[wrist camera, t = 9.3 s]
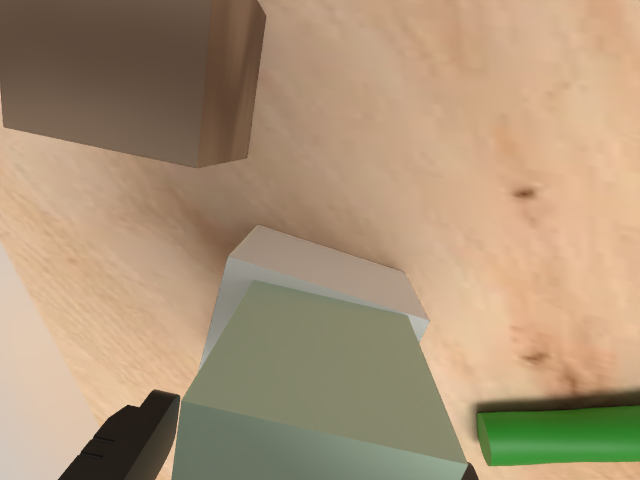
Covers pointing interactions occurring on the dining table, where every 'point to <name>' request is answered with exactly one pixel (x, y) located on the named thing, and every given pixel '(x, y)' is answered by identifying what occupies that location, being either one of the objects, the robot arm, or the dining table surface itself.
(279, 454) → the sage block
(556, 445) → the green onion
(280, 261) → the grey base block
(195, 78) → the walnut block
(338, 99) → the dining table surface
